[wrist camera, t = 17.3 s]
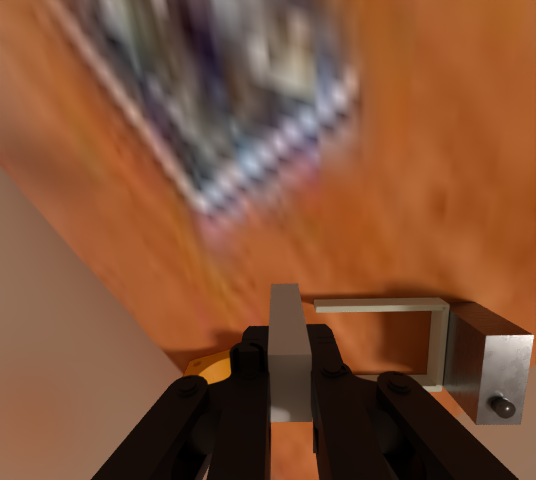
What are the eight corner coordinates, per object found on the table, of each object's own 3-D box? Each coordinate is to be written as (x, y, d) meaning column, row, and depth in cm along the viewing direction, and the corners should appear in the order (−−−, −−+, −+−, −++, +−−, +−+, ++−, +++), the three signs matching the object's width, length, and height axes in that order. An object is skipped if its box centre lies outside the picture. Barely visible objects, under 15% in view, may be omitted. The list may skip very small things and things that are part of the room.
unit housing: (438, 302, 40) (491, 339, 30) (477, 302, 40) (543, 338, 30) (433, 374, 42) (480, 430, 32) (470, 374, 41) (529, 430, 32)
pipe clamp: (200, 385, 43) (188, 419, 37) (190, 360, 42) (175, 390, 36) (277, 363, 42) (277, 395, 36) (267, 337, 41) (266, 364, 35)
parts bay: (313, 299, 40) (316, 306, 38) (438, 297, 40) (449, 304, 37) (313, 380, 42) (315, 392, 40) (431, 379, 42) (441, 391, 39)
